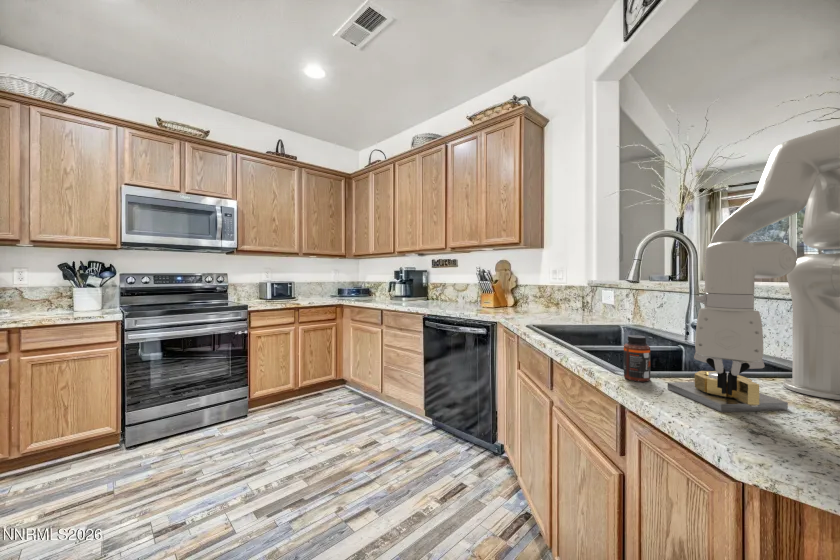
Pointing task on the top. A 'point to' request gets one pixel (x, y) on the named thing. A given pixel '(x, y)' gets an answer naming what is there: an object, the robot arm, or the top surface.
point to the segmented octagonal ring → (744, 393)
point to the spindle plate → (725, 398)
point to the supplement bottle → (637, 359)
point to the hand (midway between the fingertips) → (726, 392)
